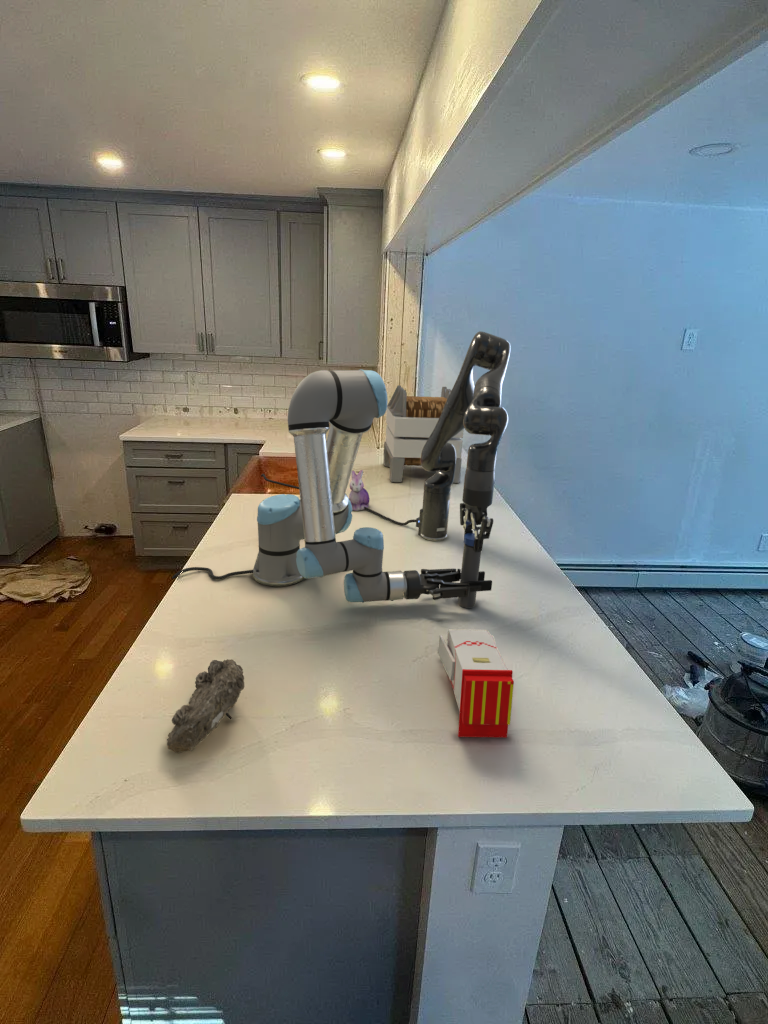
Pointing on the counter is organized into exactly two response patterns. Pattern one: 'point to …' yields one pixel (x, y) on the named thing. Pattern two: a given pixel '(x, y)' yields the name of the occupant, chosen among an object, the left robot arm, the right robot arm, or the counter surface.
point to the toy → (478, 682)
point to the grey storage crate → (414, 431)
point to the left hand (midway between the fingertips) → (487, 580)
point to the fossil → (206, 705)
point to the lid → (469, 539)
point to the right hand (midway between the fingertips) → (472, 547)
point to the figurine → (358, 492)
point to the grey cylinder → (469, 574)
